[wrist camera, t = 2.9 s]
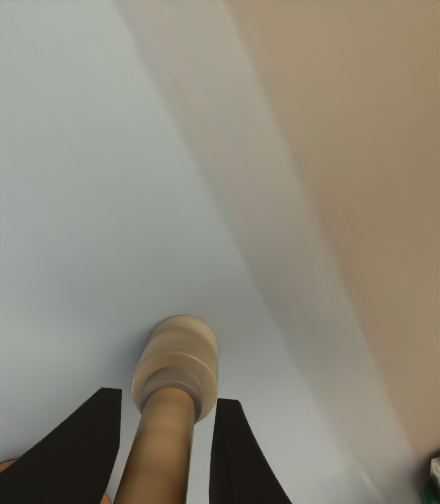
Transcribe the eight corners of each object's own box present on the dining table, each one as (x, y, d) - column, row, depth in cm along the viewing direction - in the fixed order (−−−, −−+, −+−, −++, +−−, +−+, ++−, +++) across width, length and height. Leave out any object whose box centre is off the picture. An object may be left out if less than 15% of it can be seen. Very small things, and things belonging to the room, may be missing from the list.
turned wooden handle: (153, 379, 14) (12, 810, 5) (145, 317, 14) (-42, 667, 4) (220, 375, 14) (222, 801, 5) (215, 312, 14) (205, 654, 4)
